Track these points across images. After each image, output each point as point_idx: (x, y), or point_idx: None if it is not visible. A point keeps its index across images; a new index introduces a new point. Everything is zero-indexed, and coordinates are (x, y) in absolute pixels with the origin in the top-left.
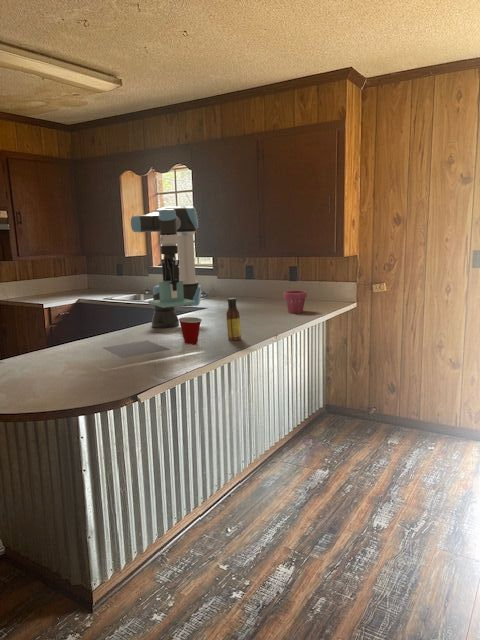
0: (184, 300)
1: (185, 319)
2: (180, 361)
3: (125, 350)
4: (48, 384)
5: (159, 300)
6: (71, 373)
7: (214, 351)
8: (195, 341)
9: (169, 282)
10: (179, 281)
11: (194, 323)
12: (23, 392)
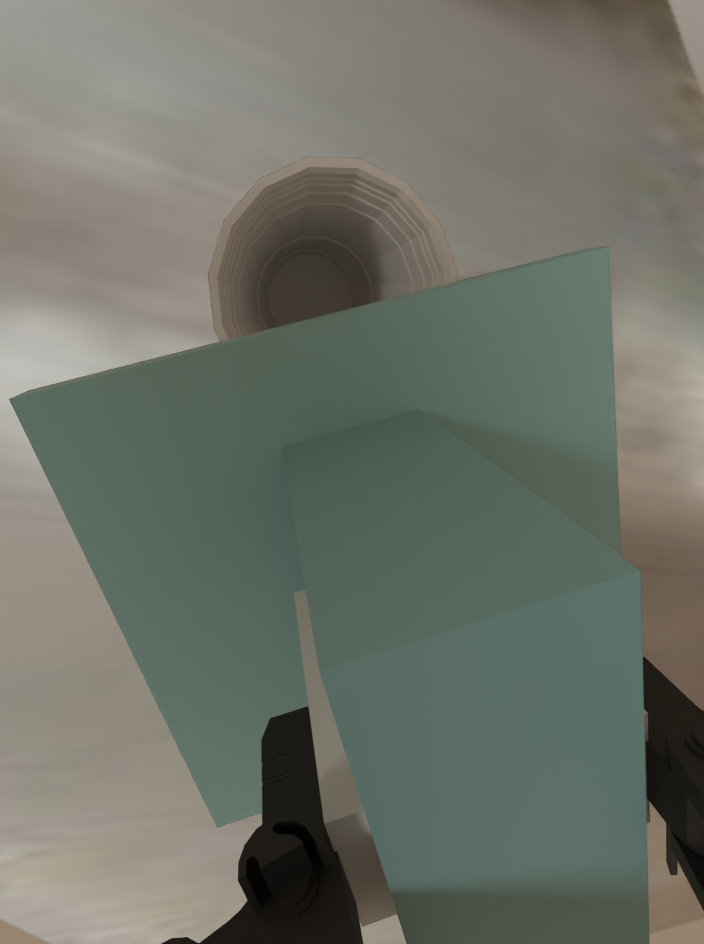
0: (443, 404)
1: (229, 326)
2: (667, 458)
3: None
4: (649, 863)
5: (241, 714)
6: None
7: (593, 214)
8: (358, 275)
9: (634, 882)
10: (627, 663)
11: (439, 285)
12: (679, 899)
